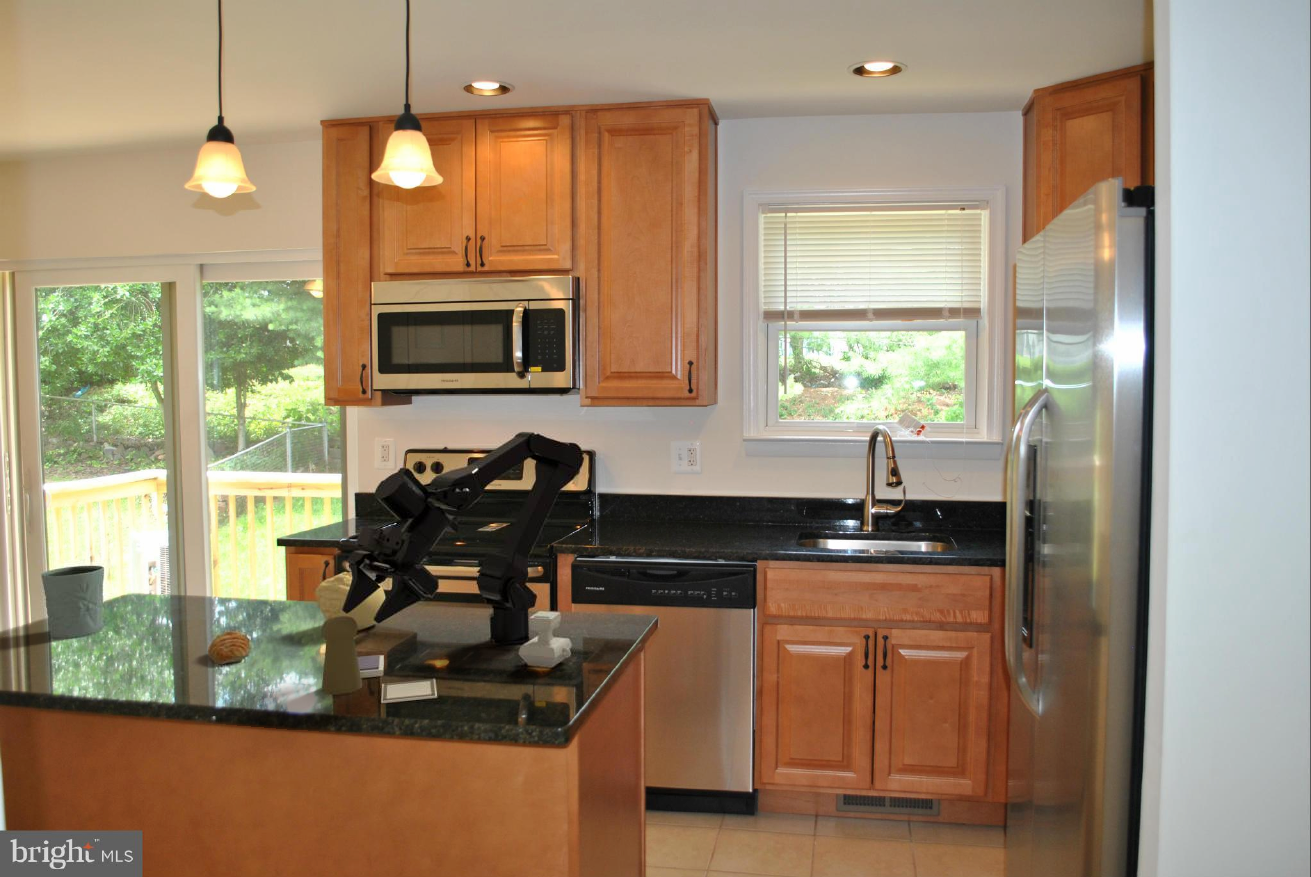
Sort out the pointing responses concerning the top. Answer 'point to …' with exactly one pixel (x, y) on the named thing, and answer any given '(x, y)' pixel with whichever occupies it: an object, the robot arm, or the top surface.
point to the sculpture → (334, 596)
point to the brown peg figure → (340, 657)
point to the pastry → (229, 647)
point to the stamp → (545, 641)
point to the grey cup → (74, 601)
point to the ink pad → (371, 665)
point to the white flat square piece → (408, 691)
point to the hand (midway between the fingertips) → (359, 616)
